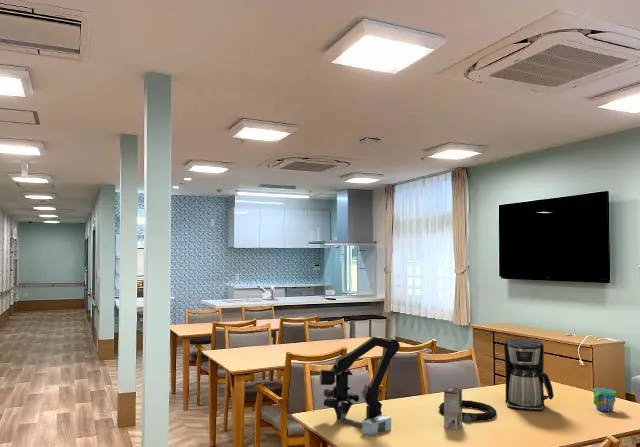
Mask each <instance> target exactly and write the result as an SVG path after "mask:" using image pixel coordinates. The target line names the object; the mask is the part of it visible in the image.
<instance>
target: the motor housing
mask: <svg viewBox="0 0 640 447" xmlns="http://www.w3.org/2000/svg"><path fill="white" fill-rule="evenodd" d="M362 423H363V425H362V428H361V429H362V435H366V436H368V437H374V436H377V435H378V434H379V432H378V431H379V430H380V431H383V432H387V431H390V430H392V417H391V416H387V415H384V414H382V415H380V416H377V417H374V418H371V419H368V420H362Z"/></svg>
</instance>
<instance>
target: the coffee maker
mask: <svg viewBox="0 0 640 447" xmlns="http://www.w3.org/2000/svg"><path fill="white" fill-rule="evenodd" d="M503 346H504V347H503V349H504V361H505V363H504V364H505V365H504V366H505V401H504V403H505V402H506V403H507V404H506V403H505V404H506V406H507V407H508V408H510V409H515V410H516V409H517V410H525V411H540V410H541V411H544V409H545V408H544V407H545V400H547V399H549V401H551V400H552V399H553V398H554V390H553V389H554V388H553V385H552V382H551V380H550V377H549V375H548V374H547V373H545V372H544V366H545V365H544V364H545V359H544V357H545V346H544V343H543V342H542V341H540V340H538V339H530V338H507V339H505V340H504V341H503ZM544 387H545V388H544ZM544 390H545V391H546V394H547V395H546V394H545V393H544Z"/></svg>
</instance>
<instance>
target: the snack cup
mask: <svg viewBox="0 0 640 447" xmlns="http://www.w3.org/2000/svg"><path fill="white" fill-rule="evenodd" d="M592 393H593V395H594V396H593V405H595V406H596V407H595V408H596V410H598V411H600V410H601V411H600V412H604V411H608V412H607V413H610V411H611V412H613V411H614V406H615V403H616V396H617V391H616V390H613V389H611V388H601V387H596V388H595V387H594V388H592Z"/></svg>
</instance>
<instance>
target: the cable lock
mask: <svg viewBox="0 0 640 447" xmlns="http://www.w3.org/2000/svg"><path fill="white" fill-rule="evenodd" d="M468 407H472V408H471V409H475V408H477V409H476V410H480V409H481V410H480V411H483V410H484V411H485V412H484V411H483V412H478V413H477V412H465V411H462V422H464V423H467V422H470V423H472V422H478V421H479V420H486V421H489V420H488V419H490V420H492V418H493V419H494V418H495V417H496V416H497V414H498V413H497V410H496V409H495V408H494V406H492V405H489V404H486V403H484V402H479V401H474V400H464V399H462V408H468ZM438 408H439V409H438V410H439V412H440V413H441V414H443V415H444V401H443V402H441V403H440V404H439V407H438ZM486 411H487V412H486ZM471 420H472V421H471ZM479 422H480V421H479Z"/></svg>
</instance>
